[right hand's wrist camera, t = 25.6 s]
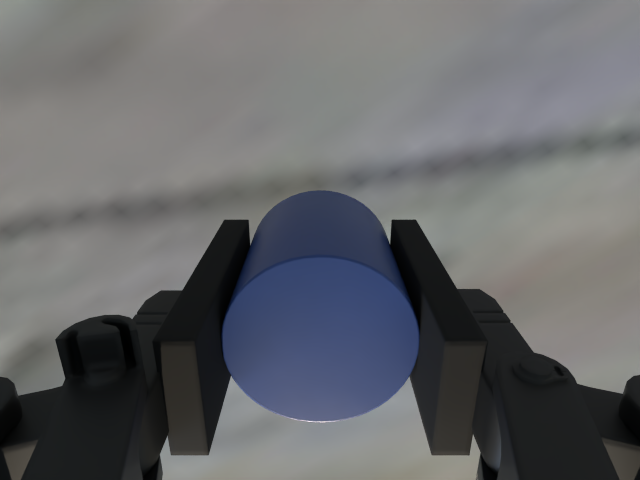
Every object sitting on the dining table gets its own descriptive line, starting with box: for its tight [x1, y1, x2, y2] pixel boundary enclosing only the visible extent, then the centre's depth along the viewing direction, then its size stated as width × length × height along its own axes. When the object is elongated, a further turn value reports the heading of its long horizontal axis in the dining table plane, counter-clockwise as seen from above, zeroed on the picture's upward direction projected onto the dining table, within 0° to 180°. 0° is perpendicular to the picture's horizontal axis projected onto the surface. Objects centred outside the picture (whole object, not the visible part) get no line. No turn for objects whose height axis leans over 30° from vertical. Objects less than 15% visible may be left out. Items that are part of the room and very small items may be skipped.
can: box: [221, 191, 420, 422], centre depth 12 cm, size 4×4×5 cm
